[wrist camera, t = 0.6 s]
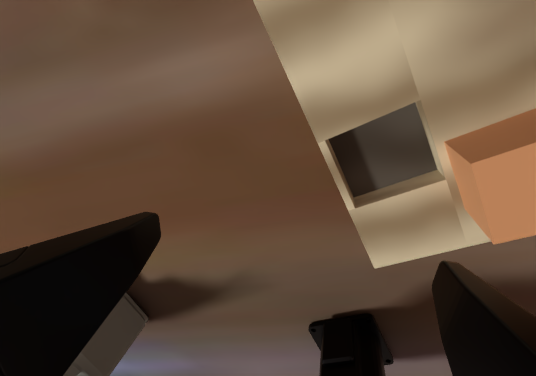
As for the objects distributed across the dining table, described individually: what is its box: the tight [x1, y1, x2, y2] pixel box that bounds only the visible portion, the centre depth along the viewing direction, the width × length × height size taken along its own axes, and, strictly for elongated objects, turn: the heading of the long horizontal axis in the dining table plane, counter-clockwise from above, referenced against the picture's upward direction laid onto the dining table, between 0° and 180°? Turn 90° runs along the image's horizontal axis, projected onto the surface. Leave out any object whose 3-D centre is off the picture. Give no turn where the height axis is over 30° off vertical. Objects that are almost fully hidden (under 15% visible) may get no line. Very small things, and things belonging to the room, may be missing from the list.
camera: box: [63, 293, 148, 376], centre depth 27 cm, size 9×12×15 cm
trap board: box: [253, 0, 536, 268], centre depth 16 cm, size 33×13×4 cm, turn 28°
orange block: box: [444, 108, 536, 244], centre depth 16 cm, size 5×5×4 cm
